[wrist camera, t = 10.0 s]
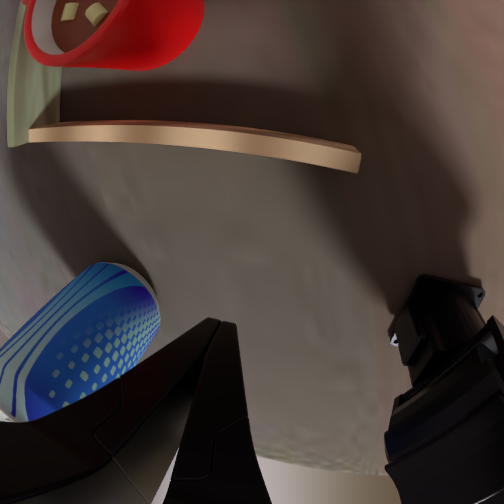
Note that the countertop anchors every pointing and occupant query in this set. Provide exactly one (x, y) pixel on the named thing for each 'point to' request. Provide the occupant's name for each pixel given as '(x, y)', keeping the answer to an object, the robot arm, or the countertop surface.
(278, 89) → the countertop surface
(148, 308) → the beer can
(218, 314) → the countertop surface
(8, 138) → the wooden box
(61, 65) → the mug
